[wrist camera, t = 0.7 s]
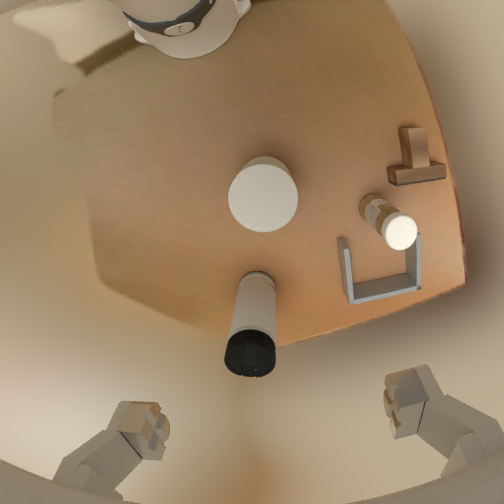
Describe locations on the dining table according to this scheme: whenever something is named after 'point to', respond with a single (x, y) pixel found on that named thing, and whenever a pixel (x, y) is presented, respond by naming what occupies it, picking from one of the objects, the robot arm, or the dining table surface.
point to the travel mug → (253, 327)
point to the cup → (263, 195)
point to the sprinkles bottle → (389, 222)
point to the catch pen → (384, 285)
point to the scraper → (415, 160)
